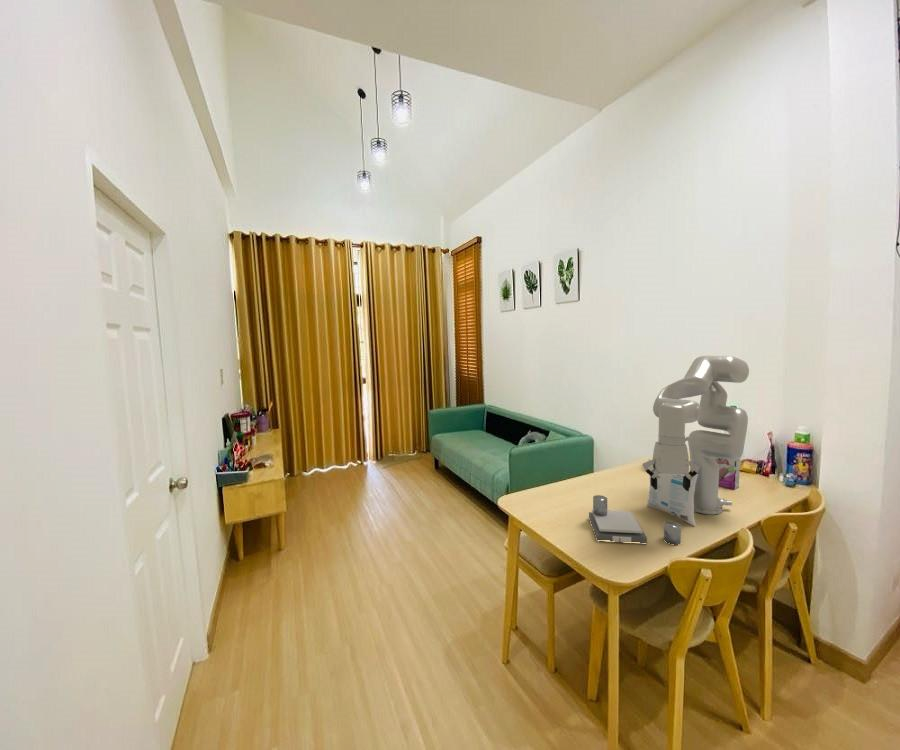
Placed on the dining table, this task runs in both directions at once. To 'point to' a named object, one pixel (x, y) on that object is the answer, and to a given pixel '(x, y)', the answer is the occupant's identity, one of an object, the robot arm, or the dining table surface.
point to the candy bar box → (728, 472)
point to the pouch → (673, 496)
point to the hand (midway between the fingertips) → (670, 488)
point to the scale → (617, 527)
